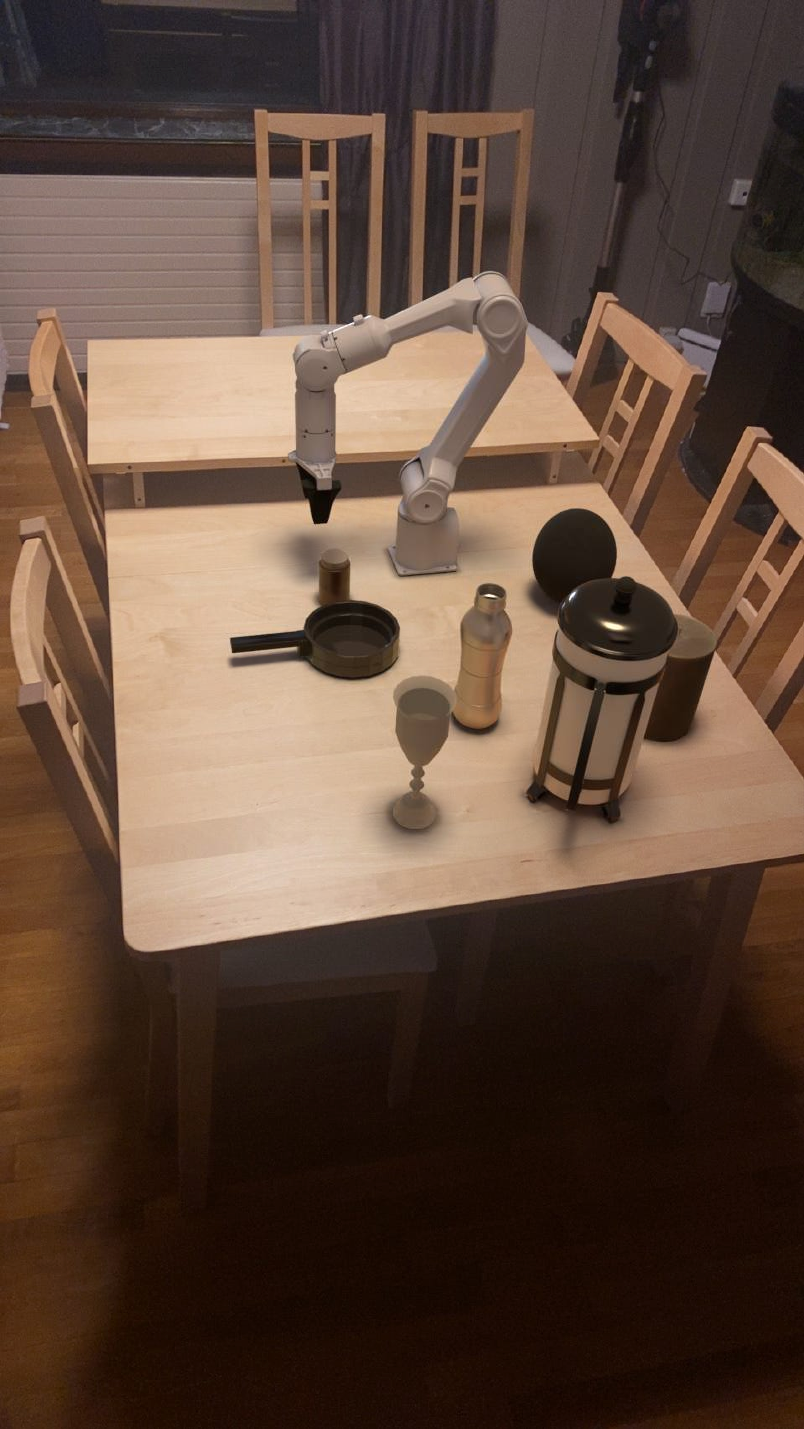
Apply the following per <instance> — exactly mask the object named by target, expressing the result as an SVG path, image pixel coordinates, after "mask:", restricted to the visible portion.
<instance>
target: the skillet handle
mask: <svg viewBox="0 0 804 1429" xmlns="http://www.w3.org/2000/svg"><path fill="white" fill-rule="evenodd" d="M229 643H230V650H231V653H232V654H240V653H242V654H243V653H250V652H260V651H271V650H281V649H290V648H296V650H297V653H298V657H299V658H307V640H306V637H305V633H304V629H300V630H299V629H297V630H292V631H282V632H272V633H262V634H252V635H243V636H233V637H232V636H231V637H229Z"/></svg>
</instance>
